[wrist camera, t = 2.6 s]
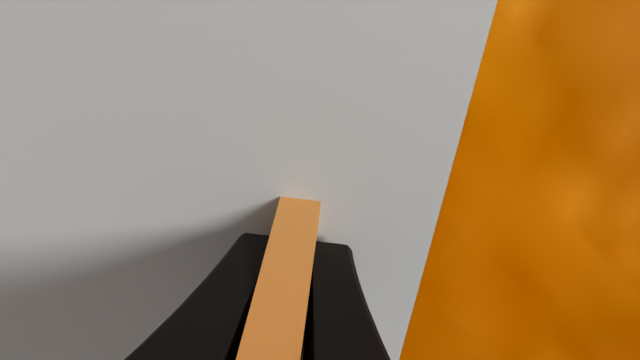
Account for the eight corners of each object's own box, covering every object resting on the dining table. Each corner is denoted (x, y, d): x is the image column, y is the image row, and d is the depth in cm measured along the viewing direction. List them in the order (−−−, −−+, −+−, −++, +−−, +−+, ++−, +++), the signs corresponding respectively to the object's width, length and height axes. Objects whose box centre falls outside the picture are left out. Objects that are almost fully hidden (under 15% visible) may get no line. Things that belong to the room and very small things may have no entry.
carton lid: (368, 450, 14) (372, 655, 10) (-96, 391, 14) (-265, 570, 10) (533, -171, 6) (803, -287, 2) (-487, -280, 7) (-1697, -546, 3)
